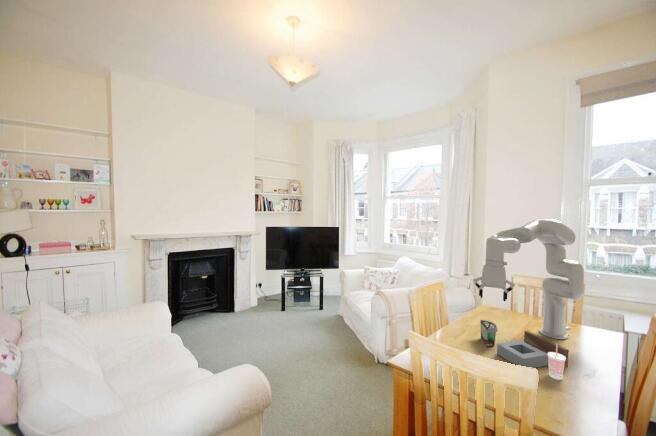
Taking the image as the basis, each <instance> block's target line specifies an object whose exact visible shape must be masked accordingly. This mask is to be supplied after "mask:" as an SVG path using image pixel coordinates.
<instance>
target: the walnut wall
mask: <svg viewBox="0 0 656 436" xmlns="http://www.w3.org/2000/svg"><path fill="white" fill-rule="evenodd" d="M523 333H524V334H523V337H524V338H523V342H525V343H527V344H529V345H531V346H533V347H535V348H537V349H539V350H541V351H543V352H545V353H548V352H556V344H557V343H554V341H552V340H549V339H546V338H544V337H542V336H541V335H538V334H535V333H534V332H532V331H529V330H524V332H523ZM569 352H570V350H569V349H568V348H567V347H566V348H565V347H564V346H562V345H559V344H558V348H557V353H559V354H562V355H563V356H565V357H566V360H565V363H564V369H566V368H569Z"/></svg>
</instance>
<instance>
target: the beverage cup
mask: <svg viewBox="0 0 656 436" xmlns="http://www.w3.org/2000/svg"><path fill="white" fill-rule="evenodd" d="M555 344H556V352H548V353H547V356H548V366H547V367H548V376H549V377H551V378H552V379H554V380H559V381H560V380H562V381H563V377H564V369H565V368H564V363H565V360H566V357H565V356H563V355H562V354H559V353H557V348H558V345H559V344H558V343H555Z"/></svg>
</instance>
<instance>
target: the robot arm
mask: <svg viewBox="0 0 656 436" xmlns="http://www.w3.org/2000/svg"><path fill="white" fill-rule="evenodd" d="M534 240H538V241H539V242H540V243H541V244H542V245H543V246H544V249H545V253H546V254H545V270H546V272H547V273H548V274H550V275H552V276H550V277H549V276H547V277H545V278H544V279H543V280H542V283H541V285H542V286H541V287H542V292H543V320H542V322H543V323H542V327H541V328H540V327H539V333H540V334H542V335H543V336H545V337H549V338H551V339H557V340H566V339H567V340H568V338H569V334H568V333H567V331H571V330H572V328H571V327H570V326H566V311H567V307H566V305H567V304H566V302H565V299H567V300H572V301H579V300H581V299H582V297H583V296H584V295H583V294H584V283H585V279H584V278H585V277H584V276H585V271H584V267H583V265H582V263H580V262H579V261H576V260H570V259H567V254H566V253H567V251H566V250H567V249H566V247H565V246H571V245H573V244H574V243H575V241H576V233H575V232H574V230H573V229H572V228H570V227H569V226H567V225H566V224H565V223H563V222H562V221H559V220H557V219H549V218H548V219H544V218H543V219H541V218H537V219H533V220H530V221H529V222H527V223H526V224H524V225H521V226H520V227H514V228H511V229H506V230H502V231H499V232H497V233H494V234H493V235H491V236H490V237H488V238H487V239H486V242H485V243H486V244H485V246H486V247H485V263H484V264H483V266H482V270H481V276H478V277H476V278H474V279H473V283H474V286H476V288H477V289H478V296H480V299H482V298H483V297H484V296H483V293H484V291H483V290H484V288H485V287H487V288H494V289H502V290H503V294H502V295H503V296H502V297H503V298H502V300H503V302H506V300H508V294H509V293H510V292H511V291H512V290H513V289H514V287H515V283H513V282H512V281H510V280H509V279H507V274H506V267H505V266H508V262H507V261H504V259H505V253H506V254H515V253H517V252H519V251H520V249H521V244H527V243H531V242H533V241H534ZM553 276H557V277H553ZM559 277H560V278H559ZM563 278H564V279H563ZM565 278H566V279H565ZM567 279H568V280H567ZM478 281H481V284H479V283H478ZM507 284H508V285H510V286H509V287H507ZM564 298H565V299H564Z"/></svg>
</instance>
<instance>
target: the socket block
mask: <svg viewBox="0 0 656 436" xmlns="http://www.w3.org/2000/svg"><path fill="white" fill-rule="evenodd" d="M496 344H497V347H496V354H497V355H498V356H500V357H501V358H503V359H505V360H506V361H508V362H510V363H512V364H513V365H514V364H516V365H521V366H526V367H534V368H533V369H536V367H537V368H542V367H543V368H544V367H548V356H547V353H545V352H543V351H541V350H539V349H537V348H535V347H533V346H531V345H529V344H527V343H525V342H524V340H514V341H507V342H499V343H496ZM516 365H515V366H516Z"/></svg>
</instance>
